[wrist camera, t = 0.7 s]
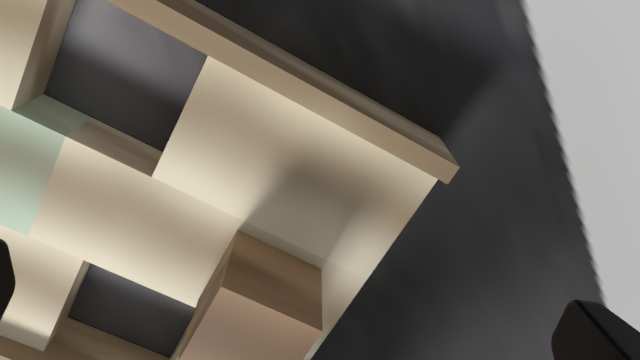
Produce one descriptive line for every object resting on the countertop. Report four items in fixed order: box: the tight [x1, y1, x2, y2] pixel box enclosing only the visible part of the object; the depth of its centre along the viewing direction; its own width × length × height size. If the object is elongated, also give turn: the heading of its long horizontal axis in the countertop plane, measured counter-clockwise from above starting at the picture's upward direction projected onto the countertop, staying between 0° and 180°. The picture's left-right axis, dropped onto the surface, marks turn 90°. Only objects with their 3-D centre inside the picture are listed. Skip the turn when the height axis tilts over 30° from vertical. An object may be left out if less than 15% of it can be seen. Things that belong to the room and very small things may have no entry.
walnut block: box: [178, 230, 323, 360], centre depth 21 cm, size 4×4×4 cm
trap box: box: [0, 0, 460, 360], centre depth 22 cm, size 18×20×4 cm
